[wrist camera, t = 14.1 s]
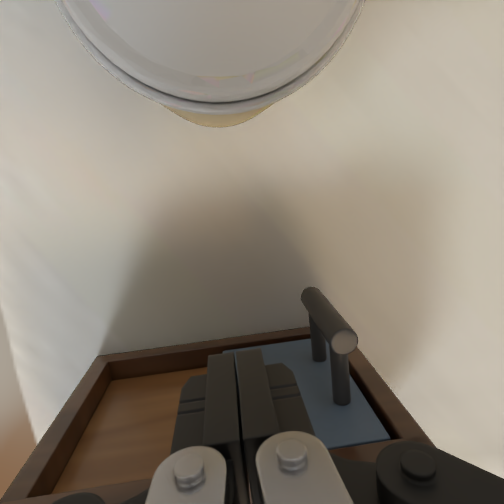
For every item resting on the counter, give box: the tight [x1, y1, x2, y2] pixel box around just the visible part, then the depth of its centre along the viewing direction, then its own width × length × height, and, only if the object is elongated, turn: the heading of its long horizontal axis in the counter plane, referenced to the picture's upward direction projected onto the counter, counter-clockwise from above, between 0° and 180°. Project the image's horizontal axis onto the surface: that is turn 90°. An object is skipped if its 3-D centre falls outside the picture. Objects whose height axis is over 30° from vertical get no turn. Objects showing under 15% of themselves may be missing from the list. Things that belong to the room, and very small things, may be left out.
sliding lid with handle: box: [223, 287, 390, 450], centre depth 19 cm, size 5×7×9 cm
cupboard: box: [0, 327, 436, 504], centre depth 20 cm, size 10×16×12 cm, turn 96°
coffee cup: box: [55, 0, 365, 127], centre depth 15 cm, size 9×9×12 cm
